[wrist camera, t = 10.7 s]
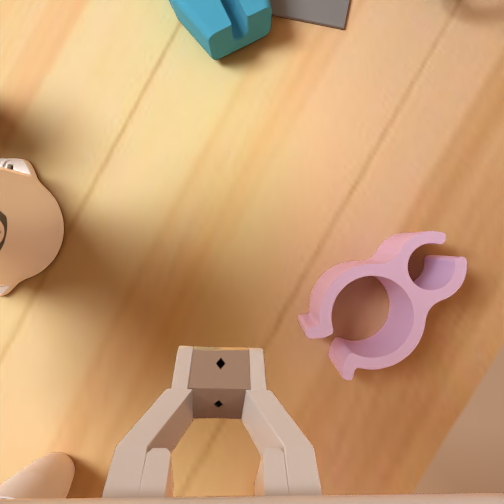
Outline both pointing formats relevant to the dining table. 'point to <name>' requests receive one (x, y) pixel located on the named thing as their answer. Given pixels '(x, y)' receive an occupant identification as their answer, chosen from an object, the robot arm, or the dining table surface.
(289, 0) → the mat
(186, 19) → the block
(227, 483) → the dining table surface
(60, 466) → the cup
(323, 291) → the clip
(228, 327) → the dining table surface
